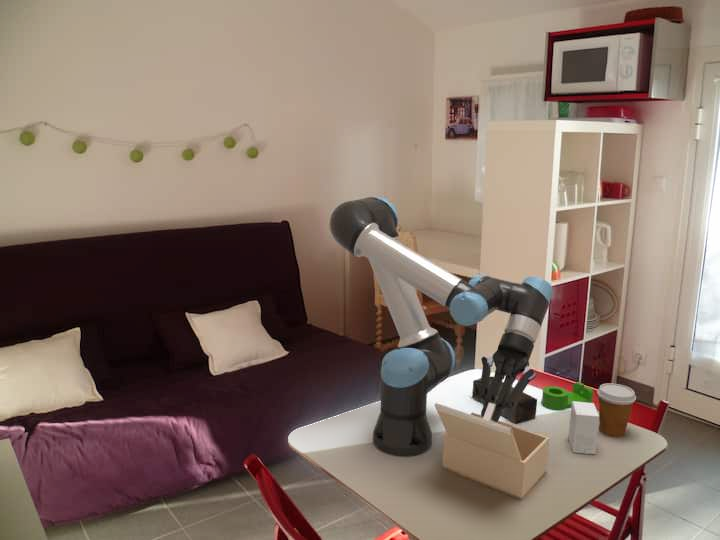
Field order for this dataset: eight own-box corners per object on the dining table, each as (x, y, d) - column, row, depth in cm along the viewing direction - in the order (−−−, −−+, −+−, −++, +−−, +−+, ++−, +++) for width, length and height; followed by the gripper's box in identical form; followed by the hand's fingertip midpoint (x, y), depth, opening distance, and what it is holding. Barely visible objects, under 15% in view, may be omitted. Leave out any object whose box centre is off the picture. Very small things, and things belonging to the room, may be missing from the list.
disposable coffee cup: (632, 442, 156) (638, 400, 154) (593, 436, 159) (598, 394, 157) (630, 426, 165) (635, 385, 162) (593, 420, 168) (597, 380, 165)
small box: (595, 455, 150) (600, 416, 148) (572, 452, 151) (576, 414, 149) (590, 439, 158) (594, 402, 155) (568, 437, 159) (571, 400, 156)
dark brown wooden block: (491, 393, 185) (492, 373, 184) (537, 419, 169) (539, 397, 167) (471, 398, 181) (472, 378, 180) (516, 425, 165) (517, 403, 164)
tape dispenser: (553, 413, 173) (554, 398, 172) (536, 403, 179) (537, 388, 178) (592, 404, 179) (594, 389, 178) (575, 394, 185) (576, 380, 184)
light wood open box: (442, 467, 144) (444, 433, 142) (470, 444, 154) (472, 412, 152) (521, 500, 132) (524, 463, 130) (546, 472, 142) (549, 437, 140)
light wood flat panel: (447, 434, 141) (434, 405, 133) (448, 432, 141) (435, 402, 134) (520, 461, 130) (510, 430, 123) (521, 458, 130) (511, 427, 123)
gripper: (549, 352, 140) (516, 447, 132) (497, 339, 147) (462, 429, 139) (542, 337, 134) (507, 436, 126) (488, 325, 142) (451, 417, 134)
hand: (483, 432), depth 133 cm, fingers closed
